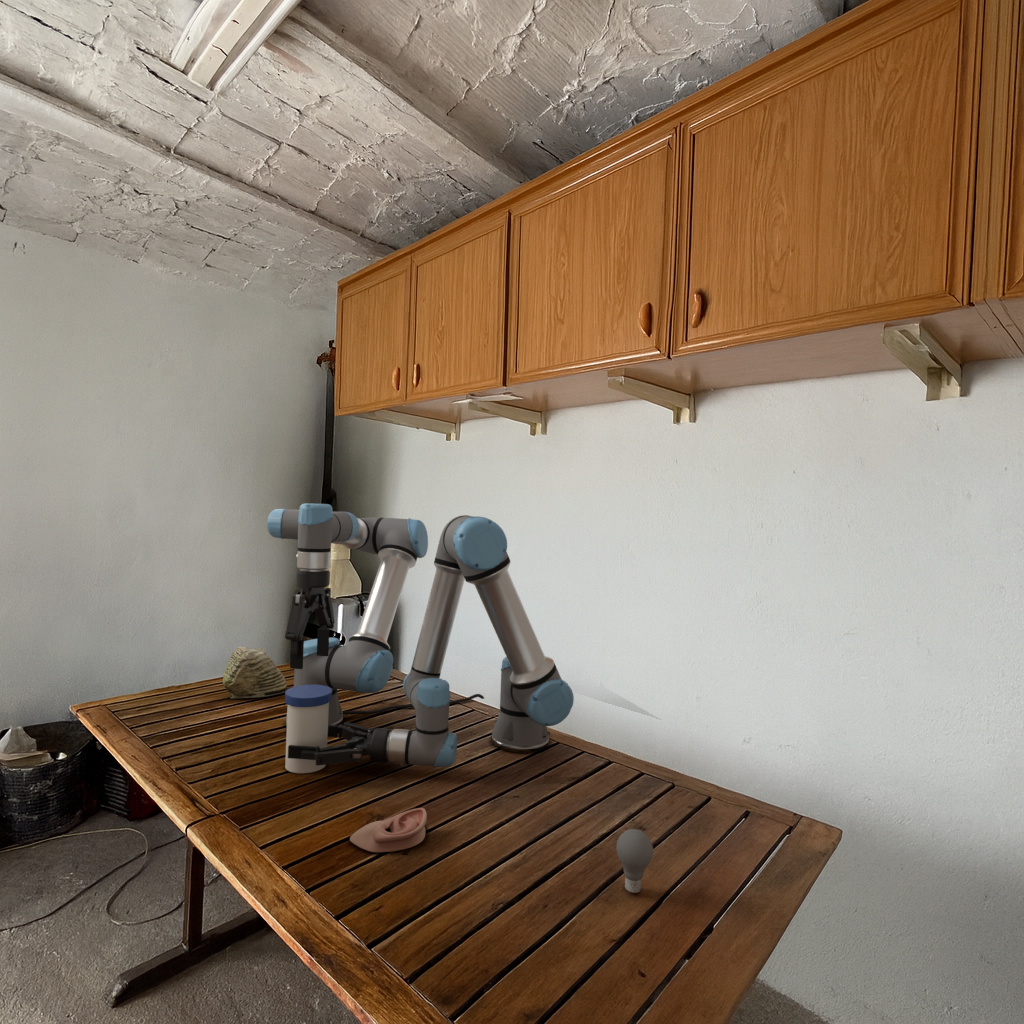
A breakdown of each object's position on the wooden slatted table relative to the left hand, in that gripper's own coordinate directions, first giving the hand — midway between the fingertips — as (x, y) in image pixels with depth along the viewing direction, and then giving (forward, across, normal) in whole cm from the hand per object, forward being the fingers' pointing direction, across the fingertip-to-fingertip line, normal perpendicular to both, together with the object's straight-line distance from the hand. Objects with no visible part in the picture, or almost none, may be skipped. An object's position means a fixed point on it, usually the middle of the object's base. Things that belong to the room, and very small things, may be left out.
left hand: (310, 661), depth 149 cm
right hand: (+18, +1, -1) cm, 18 cm away
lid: (+7, 0, 0) cm, 7 cm away
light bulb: (+24, +30, +76) cm, 85 cm away
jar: (+24, 0, 0) cm, 24 cm away
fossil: (+24, -42, -41) cm, 64 cm away
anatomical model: (+24, +25, +31) cm, 46 cm away
